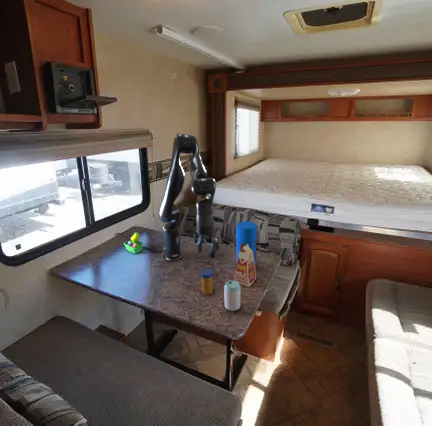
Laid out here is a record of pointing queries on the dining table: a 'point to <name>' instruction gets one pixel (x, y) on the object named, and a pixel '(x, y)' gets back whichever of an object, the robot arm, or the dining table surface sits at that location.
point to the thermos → (246, 237)
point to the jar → (207, 286)
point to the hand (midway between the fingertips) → (206, 255)
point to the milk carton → (245, 267)
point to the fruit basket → (134, 244)
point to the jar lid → (206, 273)
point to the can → (232, 295)
